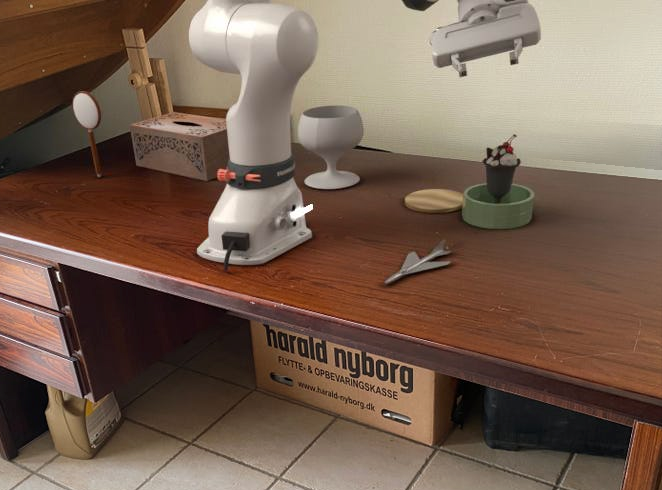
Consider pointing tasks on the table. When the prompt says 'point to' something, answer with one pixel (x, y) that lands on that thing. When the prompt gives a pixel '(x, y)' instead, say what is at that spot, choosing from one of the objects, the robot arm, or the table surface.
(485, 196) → the green shallow round dish
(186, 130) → the tissue box cover
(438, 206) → the trivet
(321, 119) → the chalice
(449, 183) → the table surface
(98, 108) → the magnifying glass
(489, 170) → the sundae
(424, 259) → the toy airplane
